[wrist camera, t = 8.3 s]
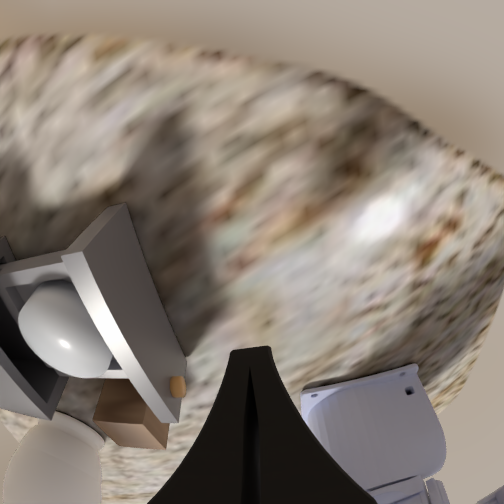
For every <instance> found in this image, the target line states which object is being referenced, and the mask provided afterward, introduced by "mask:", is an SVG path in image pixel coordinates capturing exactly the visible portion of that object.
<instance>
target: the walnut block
mask: <svg viewBox="0 0 504 504" xmlns="http://www.w3.org/2000/svg"><path fill="white" fill-rule="evenodd" d="M92 421H93V422H94V423H95V424H96V425H97V426H98V427H99V428H100V429H102V430H103V431H104V432H105V433H106V434H107V435H108V436H109V437H110V438H111V439H112V440H113V441H114V442H115V443H116V444H118V445H119V446H124V447H134V448H146V449H163V450H166V446H167V438H168V431H169V424H170V423H161V422H160V420H159V419H158V418H157V417H156V415H155V414H154V413H153V411H152V410H151V409H150V407H149V406H148V405H147V403H146V402H145V401H144V399H143V398H142V397H141V395H140V394H139V393H138V391H137V390H136V388H135V387H134V386H133V384H132V383H131V381H130V380H129V378H106V380H105V383H104V386H103V389H102V392H101V395H100V398H99V401H98V404H97V407H96V410H95V413H94V416H93V420H92Z"/></svg>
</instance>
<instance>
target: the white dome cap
mask: <svg viewBox="0 0 504 504" xmlns="http://www.w3.org/2000/svg"><path fill="white" fill-rule="evenodd" d="M18 323H19V328H20V331H21V334H22V336H23V338H24V340H25V341H26V343H27V344H28V346H29V347H30V348H31V349H32V350H33V351H34V353H35V354H36V355H37V356H39V357H40V358H41V359H42V360H43V361H44V362H46V363H47V364H49V365H50V366H52V367H53V368H55V369H57V370H59V371H61V372H63V373H65V374H68V375H71V376H75V377H80V378H95V377H98V376H101V375H103V374H104V373H105V372H106V371H107V370H108V367H109V365H110V362H111V359H112V356H113V354H112V352H111V351H110V349H109V347H108V346H107V344H106V342H105V341H104V339H103V337H102V336H101V334H100V332H99V331H98V329H97V327H96V325H95V324H94V322H93V320H92V318H91V316H90V315H89V313H88V311H87V309H86V307H85V305H84V303H83V302H82V300H81V298H80V296H79V294H78V292H77V290H76V288H75V286H74V284H72V283H69V282H65V281H59V280H52V281H47V282H44V283H42V284H40V285H39V286H38V287H37V288H36V289H35V291H34V292H33V294H32V295H31V296H30V298H29V299H28V300H27V302H26V303H25V305H24V306H23V308H22V309H21V311H20V313H19V317H18Z"/></svg>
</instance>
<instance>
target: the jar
mask: <svg viewBox="0 0 504 504" xmlns="http://www.w3.org/2000/svg"><path fill="white" fill-rule="evenodd" d="M37 420H38V425H35V426H34V427H33V428H32V429H30V430H29V431H28V432H27V434H26V435H25V436H24V438H23V439H22V441H21V443H20V445H19V447H18V448H17V449H16V451H15V453H14V454H13V456H12V458H11V460H10V462H9V464H8V467H7V470H6V473H5V477H4V484H3V504H101V503H102V491H101V483H102V468H101V462H100V458H99V455H98V451H100V450H101V449H102V448H103V447H104V445H105V443H104V440H103V438H102V437H101V436H100V435H99V434H98V433H97V432H96V431H94V430H93V429H92V428H90V427H89V426H87V425H86V424H84V423H82V422H80V421H79V420H77V419H74V418H72V417H70V416H68V415H66V414H63V413H60V412H57V411H55V413H54V415H53V418H52V420H51V421H49V420H44V419H40V418H37Z"/></svg>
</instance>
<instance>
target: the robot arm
mask: <svg viewBox="0 0 504 504" xmlns="http://www.w3.org/2000/svg"><path fill="white" fill-rule="evenodd" d="M418 369H419V367H418V365H417V364H415V363H414V364H411V365H407V366H404V367H401V368H397V369H394V370H390V371H387V372H383V373H379V374H375V375H371V376H367V377H363V378H359V379H355V380H351V381H346V382H342V383H337V384H332V385H327V386H322V387H317V388H312V389H306V390H304V391H302V392H301V393H300V398H301V414H302V417H301V415H300V413H299V412H298V410H297V408H296V407H295V405H294V403H293V402H292V400H291V398H290V396H289V394H288V392H287V390H286V388H285V386H284V384H283V382H282V380H281V378H280V376H279V373H278V371H277V368H276V366H275V363H274V360H273V356H272V351H271V347H269V346H260V347H253V348H245V349H237V350H232V351H231V352H230V357H229V361H228V365H227V368H226V372H225V375H224V378H223V381H222V384H221V386H220V389H219V392H218V394H217V397H216V399H215V402H214V404H213V407H212V409H211V411H210V413H209V415H208V417H207V420H206V422H205V424H204V426H203V428H202V430H201V431H200V433H199V435H198V437H197V439H196V440H195V442H194V444H193V446H192V447H191V449H190V450H189V452H188V453H187V455H186V456H185V458H184V459H183V461H182V462H181V464H180V465H179V467H178V468H177V469H176V471H175V472H174V473H173V475H172V476H171V477H170V478H169V480H168V481H167V482H166V483H165V484H164V486H163V487H162V488H161V489H160V490H159V492H158V493H157V494H156V495H155V496H154V497H153V498H152V499H151V500H150V501H149V502H148V503H147V504H450V503H449V500H448V497H447V494H446V491H445V488H444V486H443V483H442V481H439V480H435V479H434V478H431V479H429V480H428V481H426V484H427V488H428V492H427V489H426V486H425V483H424V481H423V479H425V478H427V477H430V476H432V475H434V474H436V473H437V472H438V471H440V470H441V468H442V467H443V465H444V462H445V458H446V442H445V437H444V433H443V430H442V427H441V424H440V422H439V420H438V418H437V415H436V413H435V411H434V409H433V406H432V404H431V402H430V400H429V398H428V396H427V394H426V391H425V389H424V387H423V385H422V383H421V381H420V379H419V377H418V375H417V372H418ZM428 494H429V496H428ZM429 498H430V499H429ZM476 504H504V485H503V486H502V487H500V488H499V489H497V490H496V491H494V492H493V493H491V494H489V495H488V496H486V497H485V498H483V499H481V500H480V501H478V502H477V503H476Z"/></svg>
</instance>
